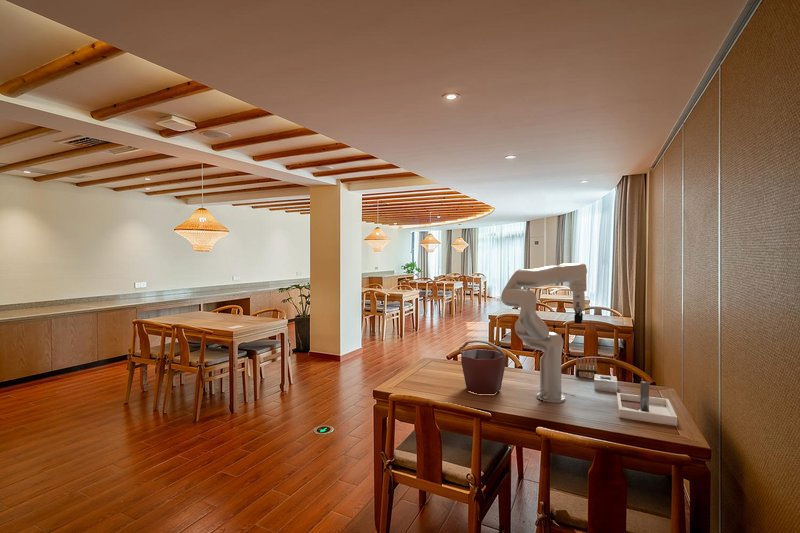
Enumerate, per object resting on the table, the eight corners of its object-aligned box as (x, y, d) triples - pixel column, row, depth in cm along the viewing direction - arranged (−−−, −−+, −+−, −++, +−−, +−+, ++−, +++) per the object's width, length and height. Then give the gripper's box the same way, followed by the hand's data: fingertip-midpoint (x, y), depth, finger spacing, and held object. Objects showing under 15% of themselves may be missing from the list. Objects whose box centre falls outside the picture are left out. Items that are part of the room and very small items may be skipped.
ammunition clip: (575, 378, 217) (575, 356, 217) (575, 377, 219) (575, 355, 219) (597, 380, 213) (597, 358, 213) (597, 379, 215) (597, 357, 214)
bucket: (450, 389, 203) (449, 341, 202) (477, 380, 217) (476, 335, 217) (489, 401, 184) (489, 348, 184) (516, 390, 199) (515, 341, 198)
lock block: (617, 394, 191) (617, 382, 191) (594, 391, 195) (594, 379, 195) (616, 388, 200) (616, 376, 200) (594, 385, 204) (594, 374, 204)
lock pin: (647, 412, 167) (647, 384, 167) (639, 410, 169) (639, 382, 169) (649, 410, 169) (650, 382, 169) (641, 408, 171) (641, 380, 171)
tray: (677, 426, 155) (677, 417, 155) (619, 417, 164) (619, 409, 164) (668, 406, 174) (668, 398, 174) (616, 400, 183) (616, 392, 183)
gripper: (585, 289, 189) (586, 325, 189) (587, 286, 204) (587, 319, 204) (568, 289, 192) (569, 324, 192) (571, 286, 207) (571, 319, 208)
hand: (578, 321), depth 198 cm, fingers open, 9 cm apart
